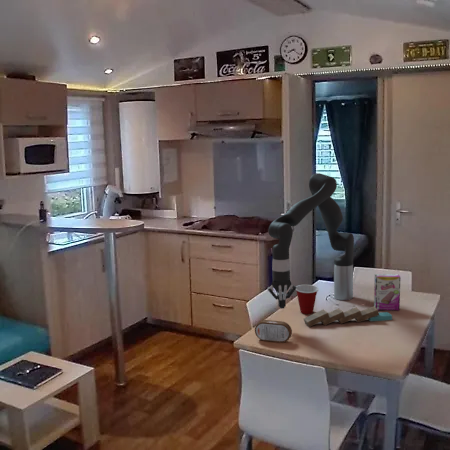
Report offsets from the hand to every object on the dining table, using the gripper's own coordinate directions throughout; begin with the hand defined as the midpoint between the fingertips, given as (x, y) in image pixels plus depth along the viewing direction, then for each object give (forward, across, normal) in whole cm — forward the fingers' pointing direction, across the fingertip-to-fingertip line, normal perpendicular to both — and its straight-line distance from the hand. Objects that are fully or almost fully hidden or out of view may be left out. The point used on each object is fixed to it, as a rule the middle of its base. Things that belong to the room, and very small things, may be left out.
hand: (282, 307), depth 242 cm
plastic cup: (+9, -17, -17) cm, 26 cm away
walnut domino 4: (+8, -33, 0) cm, 34 cm away
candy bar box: (+9, -54, -11) cm, 56 cm away
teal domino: (+8, -39, 0) cm, 40 cm away
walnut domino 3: (+8, -26, 0) cm, 27 cm away
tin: (+9, +8, +14) cm, 19 cm away
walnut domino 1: (+8, -11, 0) cm, 13 cm away
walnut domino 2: (+8, -18, 0) cm, 19 cm away
